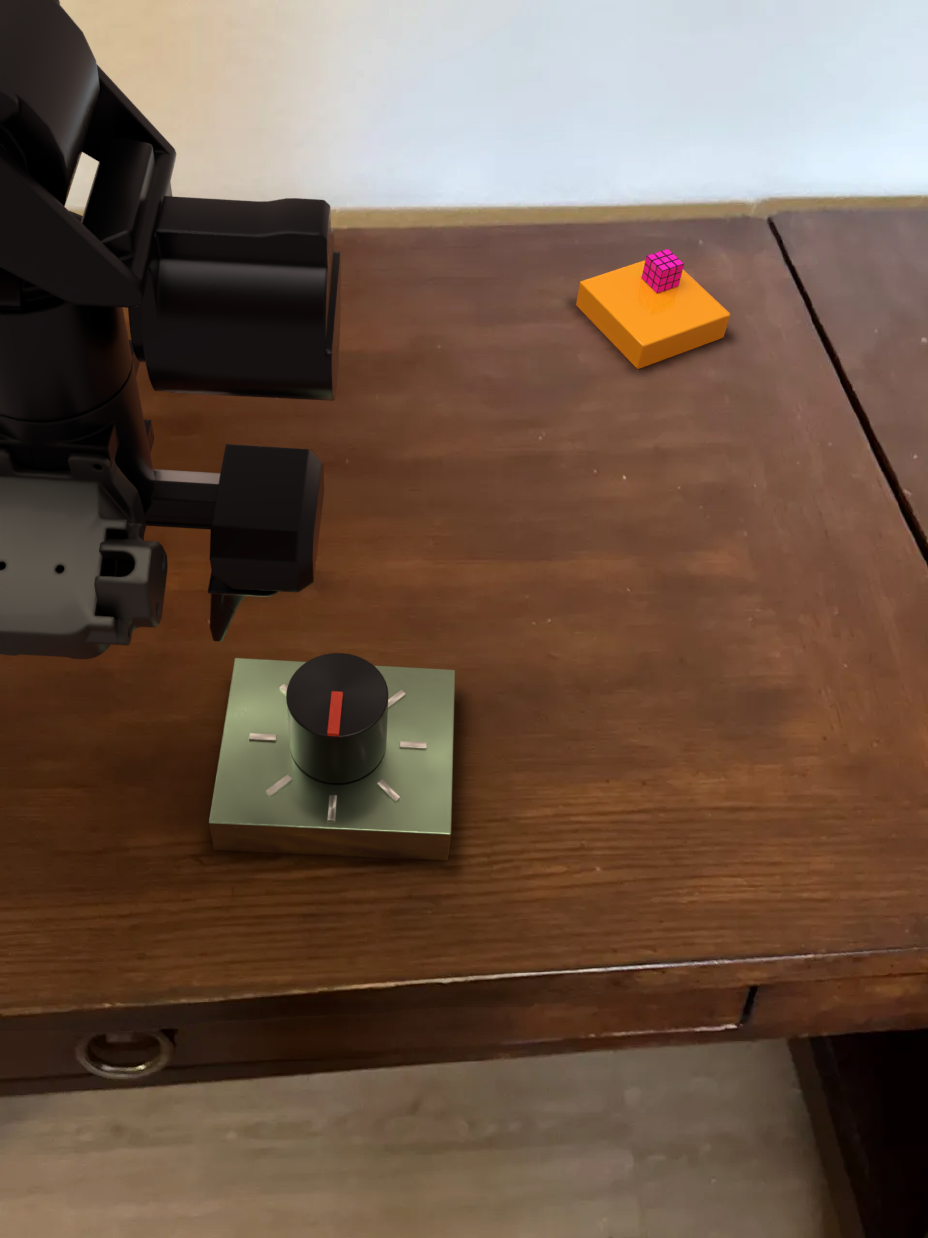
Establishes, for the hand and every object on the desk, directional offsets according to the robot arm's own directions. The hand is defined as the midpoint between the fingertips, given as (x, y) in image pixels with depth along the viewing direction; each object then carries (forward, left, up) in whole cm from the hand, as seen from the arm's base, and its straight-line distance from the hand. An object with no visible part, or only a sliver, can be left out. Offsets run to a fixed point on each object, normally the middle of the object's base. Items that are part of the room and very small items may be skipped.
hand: (117, 628), depth 55 cm
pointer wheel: (+10, 0, -9) cm, 13 cm away
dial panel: (+10, 0, -12) cm, 16 cm away
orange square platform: (+30, +39, -12) cm, 51 cm away
